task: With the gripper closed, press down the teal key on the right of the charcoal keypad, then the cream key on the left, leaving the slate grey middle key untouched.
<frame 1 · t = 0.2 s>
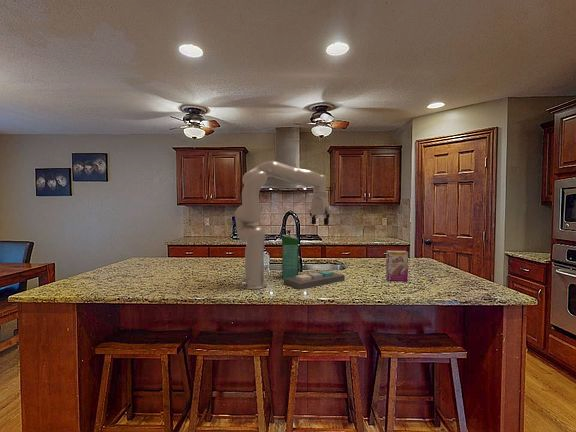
hand: (319, 224, 191), 30 cm above the countertop, tool pointing down, fingers open, 9 cm apart
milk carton: (290, 277, 186), on the countertop
teal key: (325, 274, 179), point 3 cm above the countertop, slide at 0.0 cm
candy bar box: (396, 280, 179), on the countertop
cream key: (303, 278, 170), point 3 cm above the countertop, slide at 0.0 cm
slate key: (314, 276, 175), point 3 cm above the countertop, slide at 0.0 cm
keypad: (314, 282, 175), on the countertop
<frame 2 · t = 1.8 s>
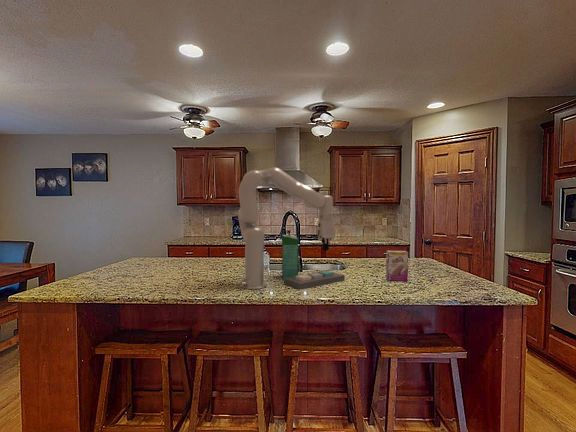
hand: (325, 250, 179), 17 cm above the countertop, tool pointing down, fingers closed
nothing on the countertop moved.
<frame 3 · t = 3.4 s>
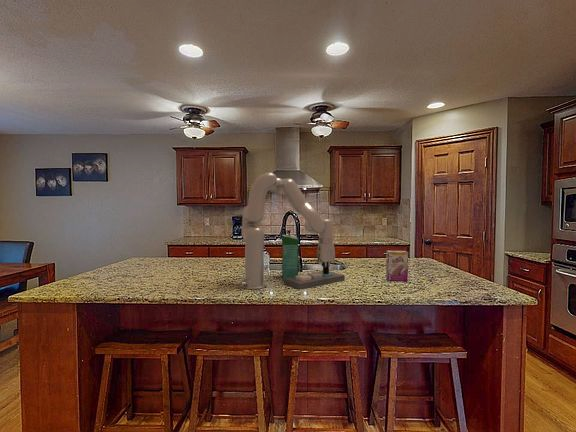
hand: (325, 273, 179), 4 cm above the countertop, tool pointing down, fingers closed
teal key: (325, 275, 179), point 2 cm above the countertop, slide at 0.8 cm, touching gripper
everything else where it was.
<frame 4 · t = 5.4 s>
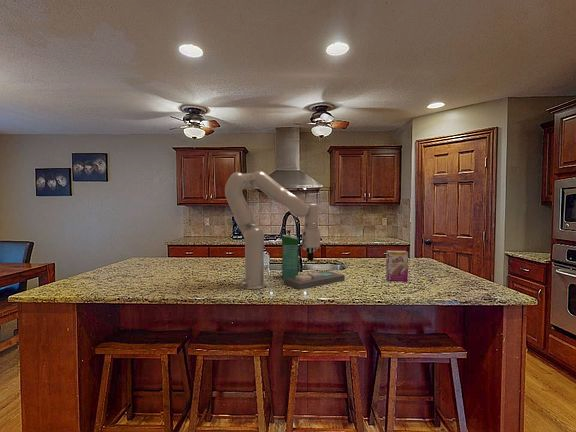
hand: (310, 260, 173), 12 cm above the countertop, tool pointing down, fingers closed
teal key: (325, 276, 179), point 2 cm above the countertop, slide at 1.2 cm
everything else where it was.
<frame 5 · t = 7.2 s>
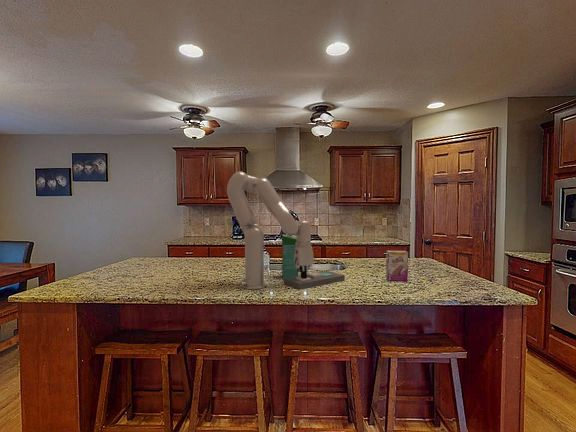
hand: (303, 278, 170), 3 cm above the countertop, tool pointing down, fingers closed
cream key: (303, 280, 170), point 2 cm above the countertop, slide at 1.1 cm, touching gripper
everything else where it was.
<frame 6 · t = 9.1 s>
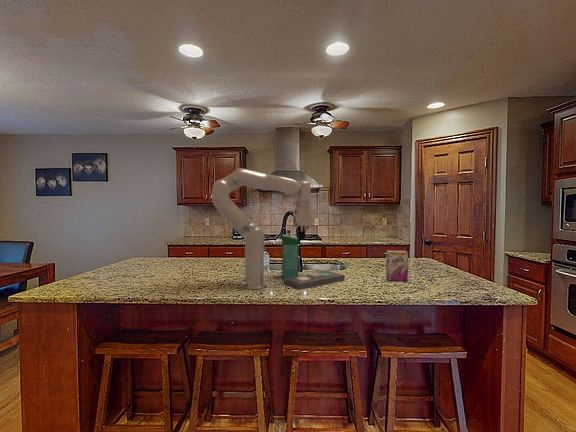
hand: (301, 238, 171), 24 cm above the countertop, tool pointing down, fingers closed
cream key: (303, 280, 170), point 2 cm above the countertop, slide at 1.2 cm
everything else where it was.
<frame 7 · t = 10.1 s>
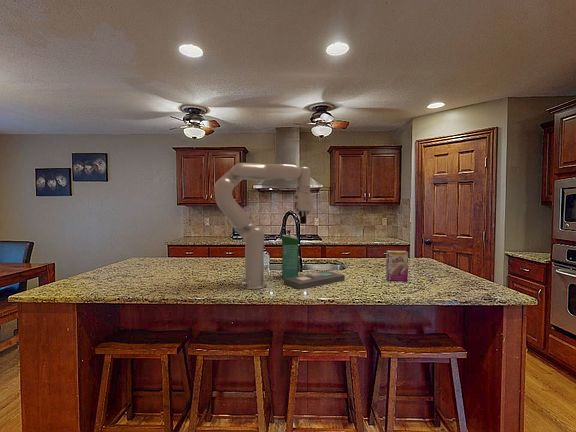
hand: (303, 223, 174), 32 cm above the countertop, tool pointing down, fingers closed
nothing on the countertop moved.
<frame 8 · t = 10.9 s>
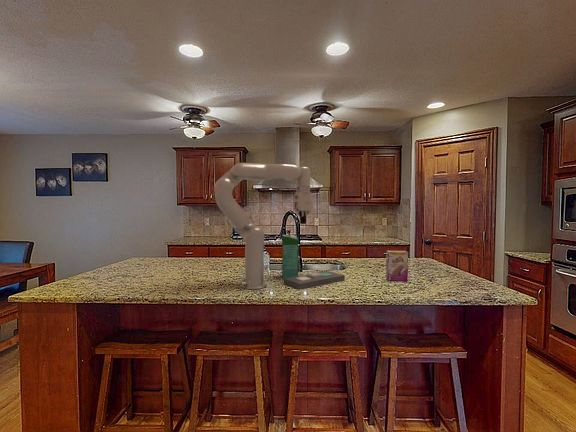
hand: (303, 223, 174), 32 cm above the countertop, tool pointing down, fingers closed
nothing on the countertop moved.
at the end: teal key slide at 1.2 cm; cream key slide at 1.2 cm; slate key slide at 0.0 cm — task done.
